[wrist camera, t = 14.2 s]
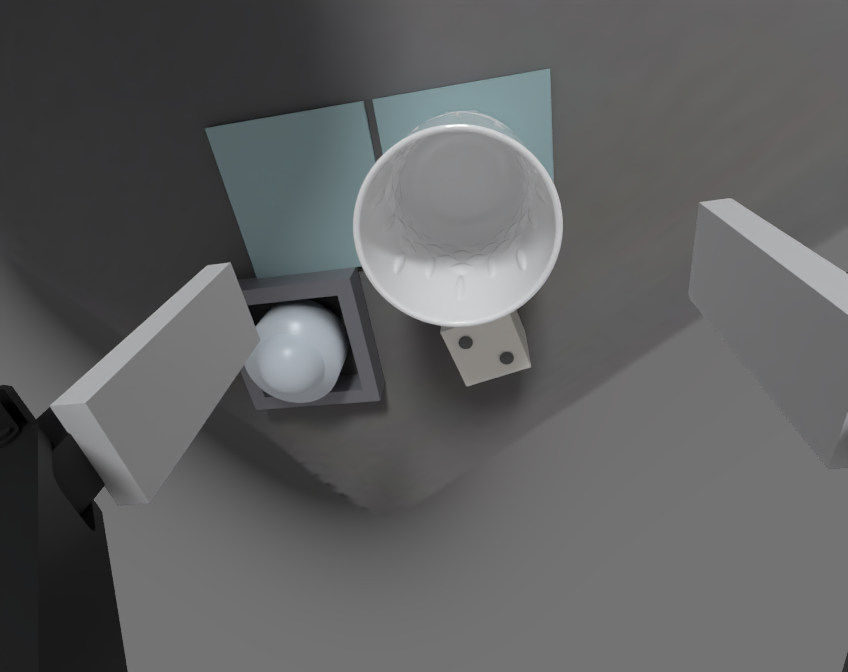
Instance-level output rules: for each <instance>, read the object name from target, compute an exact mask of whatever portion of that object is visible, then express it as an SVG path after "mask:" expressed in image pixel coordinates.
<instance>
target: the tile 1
mask: <svg viewBox="0 0 848 672" xmlns="http://www.w3.org/2000/svg"><path fill="white" fill-rule="evenodd" d="M205 131H206V134H207V137H208V139H209V142H210V145H211V148H212V151H213V154H214V157H215V159H216V162H217V165H218V168H219V171H220V174H221V177H222V180H223V182H224V185H225V188H226V191H227V194H228V197H229V200H230V202H231V205H232V208H233V211H234V214H235V217H236V220H237V222H238V225H239V228H240V231H241V234H242V237H243V240H244V242H245V245H246V248H247V251H248V254H249V257H250V260H251V262H252V265H253V268H254V271H255V274H256V277H257V279H260V278H268V277H277V276H285V275H294V274H302V273H310V272H319V271H327V270H336V269H344V268H352V267H361V264H360V261H359V258H358V255H357V252H356V248H355V243H354V236H353V216H354V209H355V204H356V200H357V196H358V193H359V191H360V188H361V186H362V184H363V182H364V180H365V178H366V176H367V174H368V173H369V171H370V170H371V168H372V167H373V165H374V164H375V163H376V158H375V153H374V148H373V143H372V138H371V133H370V128H369V123H368V118H367V113H366V108H365V102H364V101H359V102H353V103H347V104H341V105H336V106H330V107H324V108H318V109H312V110H307V111H301V112H295V113H289V114H283V115H278V116H272V117H266V118H260V119H255V120H249V121H243V122H237V123H231V124H226V125H220V126H214V127H208V128H205Z"/></svg>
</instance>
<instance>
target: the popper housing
mask: <svg viewBox="0 0 848 672" xmlns="http://www.w3.org/2000/svg"><path fill="white" fill-rule="evenodd" d="M237 280H238V283H239V286H240V288H241V291H242V293H243V296H244V299H245V301H246V304H247V305H255V304H264V303H273V302H282V301H291V300H300V299H310V298H319V297H328V296H338V299H339V303H340V307H341V310H342V314H343V318H344V322H345V325H346V329H347V333H348V336H349V340H350V344H351V348H352V351H353V355H354V359H355V362H356V366H357V370H358V374H350V375H339V377H338V379H337V381H336V383H335V386H334V387H333V388H332V390H331V391H330V392H329V393H328V394H326V395H325V396H324V397H322V398H320V399H318V400H315V401H312V402H306V403H294V402H288V401H284V400H280V399H278V398H275V397H273V396H271V395H269V394H268V393H266V392H265V391H263V390H262V389H261V388H260V387H259V386H258V385H257V384H255V382H254V381H253V380H252V379H251V377H250V376H249V374H248V373H247V370H246V368H245V365H243V367H242V368H241V370H240V372H241V375H242V377H243V379H244V382H245V384H246V387H247V389H248V392H249V394H250V397H251V399H252V402H253V404H254V406H255V409H256V410H264V409H278V408H291V407H304V406H318V405H331V404H345V403H358V402H372V401H381V397H382V393H383V390H384V386H385V381H384V377H383V372H382V368H381V364H380V360H379V356H378V352H377V347H376V343H375V339H374V335H373V331H372V327H371V323H370V318H369V314H368V310H367V306H366V302H365V298H364V294H363V289H362V285H361V281H360V277H359V273H358V269H357V267H352V268H344V269H336V270H327V271H319V272H310V273H302V274H294V275H285V276H277V277H268V278H260V279H257V277H254V278H246V279H237Z"/></svg>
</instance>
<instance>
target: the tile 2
mask: <svg viewBox="0 0 848 672" xmlns="http://www.w3.org/2000/svg"><path fill="white" fill-rule="evenodd" d="M372 101H373V106H374V111H375V116H376V121H377V127H378V132H379V137H380V142H381V147H382V153H383V154H384V153H385V152H386V151H387V150H389V149H390V148H391V147H392V146H393V145H395V144H396V143H397V142H398V141H400V140H401V139H402V138H403V137H404V136H406V135H407V134H408V133H409V132H410V131H412V130H413V129H414V128H416V127H418V126H419V125H421V124H422V123H424V122H426V121H428V120H429V119H432V118H434V117H436V116H439V115H441V114H443V113H445V112H451V111H469V110H476V111H479V112H481V113H483V114H485V115H487V116H490V117H493V118H495V119H496V120H498V121H500V122H502V123H503V124H504V125H506V126H507V127H509V128H510V129H511V130H512V131H513V132H514V133H515V134H516V135H517V136H518V137H519V138H520V139H521V140H522V141H523V142H524V144H525V145H526V146H527V147H528V148H529V150H530V151H531V152H532V153H533V154H534V156H535V157H536V158H537V159H538V160H539V161H540V163H541V164H542V165H543V167H544V168H545V169H546V171H547V172H548V174H549V176H550V178H551V179H552V181H553V183H554V175H553V145H552V114H551V84H550V69H544V70H538V71H532V72H527V73H521V74H515V75H509V76H504V77H498V78H492V79H486V80H480V81H475V82H469V83H463V84H457V85H451V86H446V87H440V88H434V89H428V90H422V91H417V92H411V93H405V94H399V95H394V96H388V97H382V98H376V99H372Z"/></svg>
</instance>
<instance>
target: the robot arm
mask: <svg viewBox="0 0 848 672" xmlns="http://www.w3.org/2000/svg"><path fill="white" fill-rule="evenodd" d="M688 297H689V299H690V300H691V301H692V302H693V304H694V305H695V306H696V307H697V308H698V310H699V311H700V312H701V313H702V315H703V316H704V317H705V318H706V319H707V320H708V322H709V323H710V324H711V326H712V327H713V328H714V329H715V330H716V332H717V333H718V334H719V335H720V337H721V338H722V339H723V340H724V342H725V343H726V344H727V345H728V346H729V348H730V349H731V350H732V351H733V353H734V354H735V355H736V356H737V358H738V359H739V360H740V361H741V363H742V364H743V365H744V366H745V367H746V369H747V370H748V371H749V372H750V374H751V375H752V376H753V377H754V378H755V380H756V381H757V382H758V383H759V385H760V386H761V387H762V388H763V390H764V391H765V392H766V393H767V394H768V396H769V397H770V398H771V399H772V400H773V402H774V403H775V404H776V406H777V407H778V408H779V409H780V411H781V412H782V413H783V414H784V415H785V417H786V418H787V419H788V420H789V422H790V423H791V424H792V425H793V426H794V427H795V429H796V430H797V431H798V433H799V434H800V435H801V436H802V438H803V439H804V440H805V441H806V442H807V444H808V445H809V446H810V447H811V449H812V450H813V451H814V452H815V454H816V455H817V456H818V457H819V459H820V460H821V461H822V462H823V463H824V465H825V466H826V467H827V468H828V469H840V468H848V272H844V271H842V270H841V269H839V268H838V267H836V266H834V265H833V264H832V263H830V262H829V261H827V260H825V259H824V258H822V257H821V256H819V255H818V254H816V253H815V252H813V251H812V250H810V249H809V248H807V247H805V246H804V245H802V244H801V243H799V242H798V241H796V240H795V239H793V238H792V237H790V236H788V235H787V234H785V233H784V232H782V231H781V230H779V229H778V228H776V227H775V226H773V225H771V224H770V223H768V222H767V221H765V220H764V219H762V218H761V217H759V216H758V215H756V214H755V213H753V212H751V211H750V210H748V209H747V208H745V207H744V206H742V205H741V204H739V203H738V202H736V201H734V200H733V199H731V198H728V199H721V200H713V201H705V202H699V207H698V216H697V224H696V233H695V241H694V250H693V258H692V267H691V275H690V284H689V292H688ZM259 342H260V338H259V335H258V332H257V330H256V327H255V325H254V322H253V319H252V317H251V314H250V312H249V309H248V306H247V304H246V301H245V299H244V296H243V293H242V291H241V288H240V286H239V283H238V280H237V278H236V275H235V272H234V270H233V267H232V265H231V262H229V263H222V264H214V265H207V266H206V267H205V268H204V269H202V270H201V271H200V272H199V273H198V274H197V275H196V276H195V277H193V278H192V279H191V280H190V281H189V282H188V283H187V284H186V285H185V286H183V287H182V288H181V289H180V290H179V291H178V292H177V293H176V294H174V295H173V296H172V297H171V298H170V299H169V300H168V301H167V302H165V303H164V304H163V305H162V306H161V307H160V308H159V309H158V310H157V311H155V312H154V313H153V314H152V315H151V316H150V317H149V318H148V319H146V320H145V321H144V322H143V323H142V324H141V325H140V326H139V327H137V328H136V329H135V330H134V331H133V332H132V333H131V334H130V335H129V336H127V337H126V338H125V339H124V340H123V341H122V342H121V343H120V344H119V345H117V346H116V347H115V348H114V349H113V350H112V351H111V352H109V353H108V354H107V355H106V356H105V357H104V358H103V359H102V360H101V361H99V362H98V363H97V364H96V365H95V366H94V367H93V368H92V369H91V370H89V371H88V372H87V373H86V374H85V375H84V376H83V377H81V378H80V379H79V380H78V381H77V382H76V383H75V384H74V385H73V386H72V387H70V388H69V389H68V390H67V391H66V392H65V393H64V394H63V395H61V396H60V397H59V398H58V399H57V400H56V401H55V402H53V403H52V404H51V405H50V407H49V408H48V409H47V410H46V411H45V412H44V413H43V414H42V415H41V416H39V417H38V418H37V419H35V418H34V416H33V415H32V413H31V412H30V411H29V409H28V408H27V406H26V405H25V404H24V402H23V401H22V400H21V398H20V397H19V395H18V394H17V393H16V391H15V390H14V388H13V387H12V386H7V385H1V386H0V672H128V671H127V666H126V659H125V653H124V647H123V640H122V634H121V627H120V621H119V615H118V609H117V603H116V597H115V590H114V584H113V578H112V571H111V565H110V559H109V553H108V546H107V541H106V534H105V528H104V522H103V515H102V511H101V510H100V508H99V507H98V505H97V504H96V502H95V501H94V500H93V499H94V498H95V497H96V496H97V494H98V493H99V492H100V491H101V489H102V488H103V487H104V486H105V487H106V488H107V490H108V492H109V493H110V495H111V496H112V497H113V499H114V500H115V502H116V503H117V505H133V504H150V503H151V501H152V500H153V498H154V497H155V495H156V494H157V492H158V491H159V489H160V488H161V486H162V485H163V483H164V482H165V480H166V479H167V478H168V476H169V475H170V473H171V471H172V470H173V469H174V467H175V466H176V464H177V463H178V461H179V460H180V458H181V457H182V455H183V454H184V452H185V451H186V450H187V448H188V447H189V445H190V444H191V442H192V441H193V439H194V438H195V436H196V435H197V433H198V432H199V430H200V429H201V427H202V426H203V424H204V423H205V421H206V420H207V418H208V417H209V416H210V414H211V412H212V411H213V410H214V408H215V407H216V405H217V404H218V402H219V401H220V399H221V398H222V396H223V395H224V393H225V392H226V391H227V389H228V388H229V386H230V385H231V383H232V382H233V380H234V379H235V377H236V376H237V374H238V373H239V371H240V370H241V368H242V367H243V365H244V364H245V362H246V361H247V360H248V358H249V357H250V355H251V354H252V352H253V351H254V349H255V348H256V346H257V345H258V343H259ZM842 672H848V653H847V657H846V660H845V664H844V667H843V671H842Z"/></svg>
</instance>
